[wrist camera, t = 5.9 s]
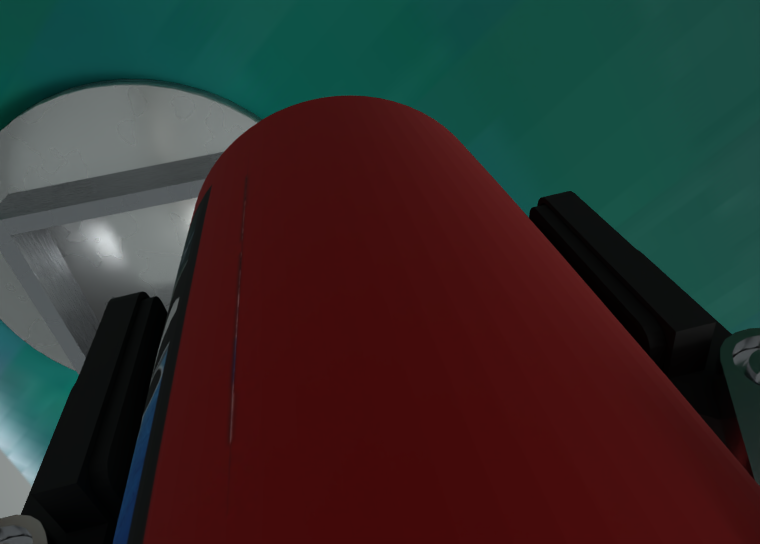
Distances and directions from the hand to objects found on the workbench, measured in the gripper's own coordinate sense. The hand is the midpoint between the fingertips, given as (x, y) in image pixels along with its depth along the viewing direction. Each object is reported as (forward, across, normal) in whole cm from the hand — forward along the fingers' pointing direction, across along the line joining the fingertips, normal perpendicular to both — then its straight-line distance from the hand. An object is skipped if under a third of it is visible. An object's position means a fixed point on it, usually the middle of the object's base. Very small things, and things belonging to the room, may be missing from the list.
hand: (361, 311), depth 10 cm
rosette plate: (+20, +10, +8) cm, 24 cm away
